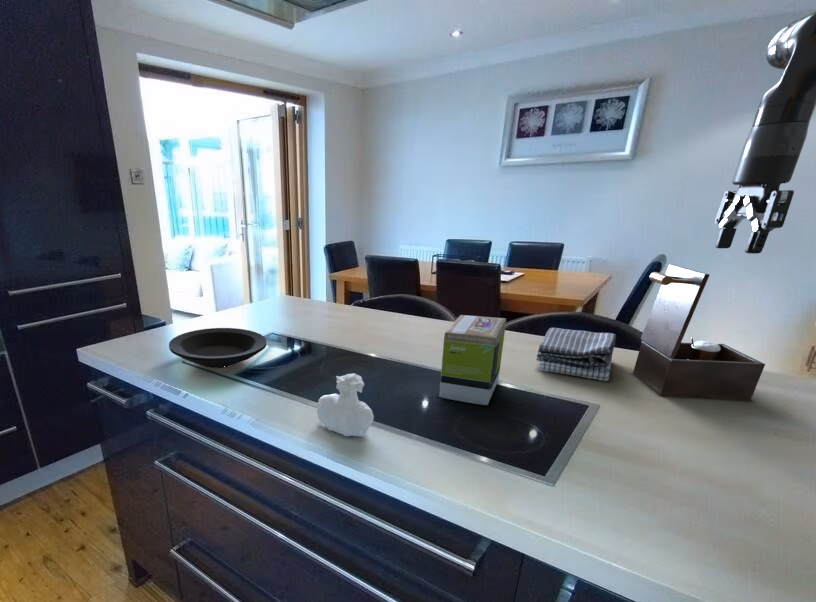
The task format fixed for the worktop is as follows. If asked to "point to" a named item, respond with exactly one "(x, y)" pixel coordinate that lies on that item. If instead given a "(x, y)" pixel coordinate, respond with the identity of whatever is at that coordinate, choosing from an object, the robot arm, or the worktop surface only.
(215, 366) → the plate
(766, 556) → the worktop surface
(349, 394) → the bust
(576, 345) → the towel
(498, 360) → the tea box
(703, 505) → the worktop surface
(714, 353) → the milkshake
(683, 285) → the lid
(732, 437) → the worktop surface
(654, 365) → the chest
